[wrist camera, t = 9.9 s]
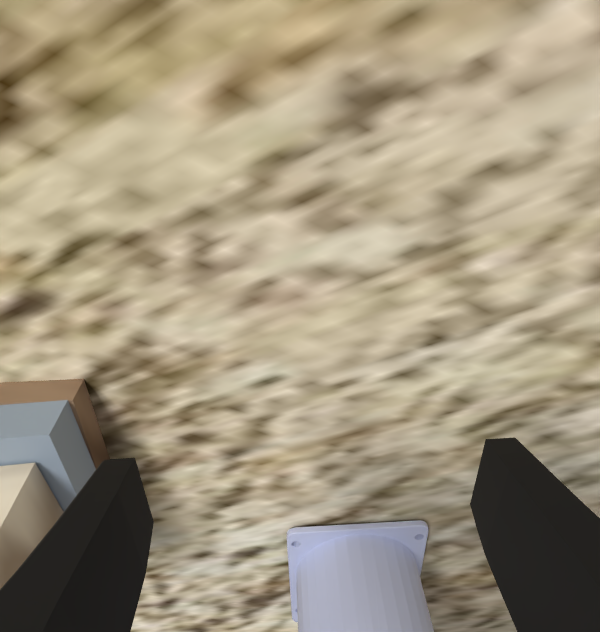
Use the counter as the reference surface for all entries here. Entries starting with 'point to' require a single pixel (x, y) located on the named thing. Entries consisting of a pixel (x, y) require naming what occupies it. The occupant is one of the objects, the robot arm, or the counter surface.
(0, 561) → the birch block
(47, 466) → the slate slab
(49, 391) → the walnut slab
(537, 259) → the counter surface
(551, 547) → the robot arm
